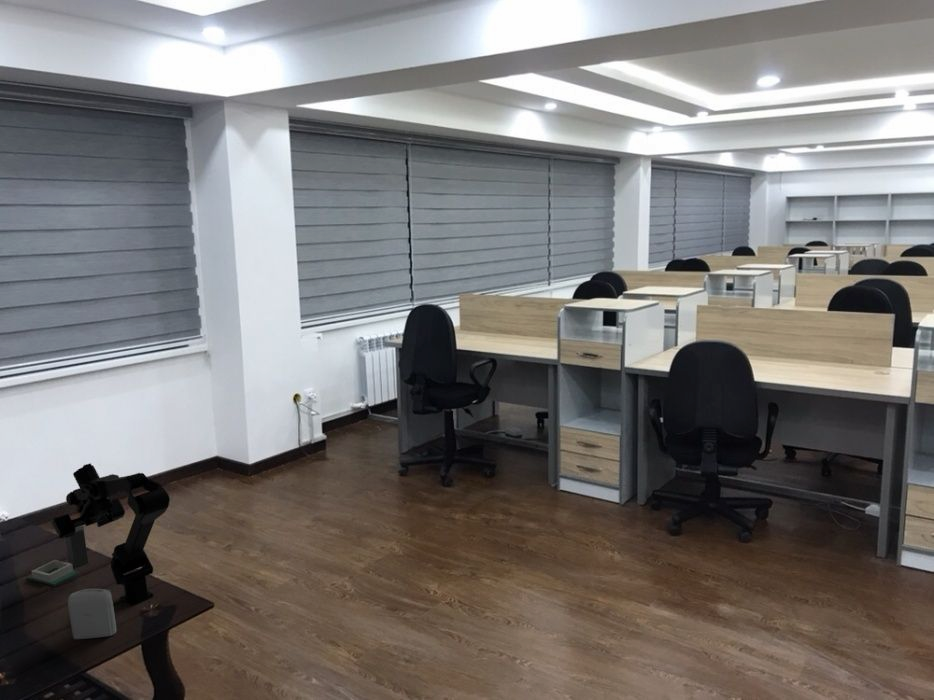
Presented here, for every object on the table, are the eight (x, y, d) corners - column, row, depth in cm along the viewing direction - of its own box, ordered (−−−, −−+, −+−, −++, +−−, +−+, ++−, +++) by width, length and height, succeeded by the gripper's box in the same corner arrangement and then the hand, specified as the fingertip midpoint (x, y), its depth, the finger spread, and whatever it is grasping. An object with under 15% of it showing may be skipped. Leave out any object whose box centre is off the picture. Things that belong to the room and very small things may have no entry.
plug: (88, 562, 227) (83, 526, 225) (74, 568, 224) (69, 530, 222) (81, 559, 230) (76, 522, 228) (68, 564, 227) (63, 527, 225)
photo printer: (70, 641, 185) (63, 595, 183) (77, 631, 190) (71, 587, 187) (113, 637, 186) (107, 592, 184) (119, 628, 191) (113, 584, 188)
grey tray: (79, 573, 221) (78, 564, 220) (54, 586, 214) (53, 577, 213) (51, 566, 226) (50, 558, 225) (27, 578, 218) (25, 569, 218)
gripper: (115, 472, 222) (102, 498, 231) (50, 491, 207) (38, 519, 216) (132, 503, 218) (117, 528, 227) (66, 525, 204) (54, 551, 213)
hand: (82, 531), depth 221 cm, fingers open, 9 cm apart
